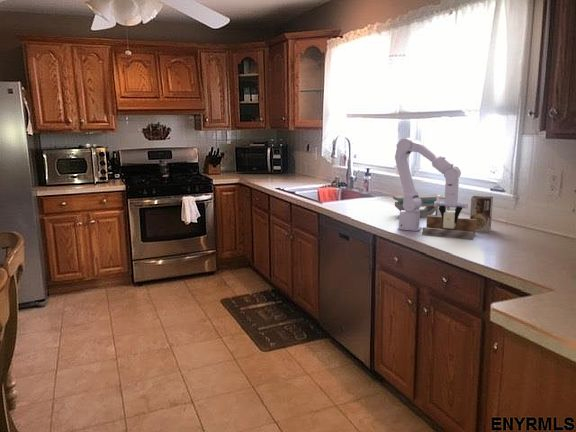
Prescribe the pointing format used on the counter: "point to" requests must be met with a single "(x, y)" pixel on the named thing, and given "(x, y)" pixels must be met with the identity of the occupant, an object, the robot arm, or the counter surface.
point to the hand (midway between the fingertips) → (449, 222)
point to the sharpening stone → (426, 201)
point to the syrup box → (439, 199)
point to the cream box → (449, 219)
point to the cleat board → (461, 230)
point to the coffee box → (482, 212)
